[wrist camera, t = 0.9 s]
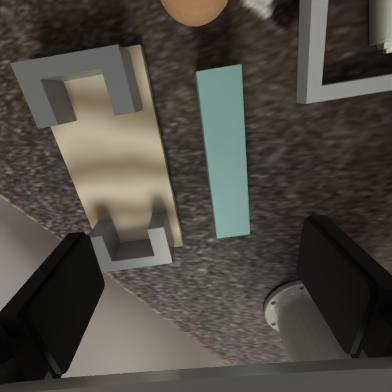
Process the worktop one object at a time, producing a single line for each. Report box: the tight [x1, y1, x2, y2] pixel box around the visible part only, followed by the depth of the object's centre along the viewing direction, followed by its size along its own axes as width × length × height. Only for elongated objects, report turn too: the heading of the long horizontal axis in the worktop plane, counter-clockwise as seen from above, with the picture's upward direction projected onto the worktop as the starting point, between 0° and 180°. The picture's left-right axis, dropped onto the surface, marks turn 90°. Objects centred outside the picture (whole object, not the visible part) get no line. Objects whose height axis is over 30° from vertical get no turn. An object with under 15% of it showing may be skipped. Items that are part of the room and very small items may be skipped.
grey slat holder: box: [10, 44, 174, 272], centre depth 26 cm, size 24×10×4 cm, turn 9°
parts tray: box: [296, 0, 392, 104], centre depth 22 cm, size 15×15×2 cm
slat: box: [195, 64, 250, 238], centre depth 26 cm, size 18×4×6 cm, turn 8°
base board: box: [51, 45, 183, 247], centre depth 28 cm, size 25×12×2 cm, turn 9°
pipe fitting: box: [369, 0, 392, 54], centre depth 21 cm, size 8×4×7 cm
